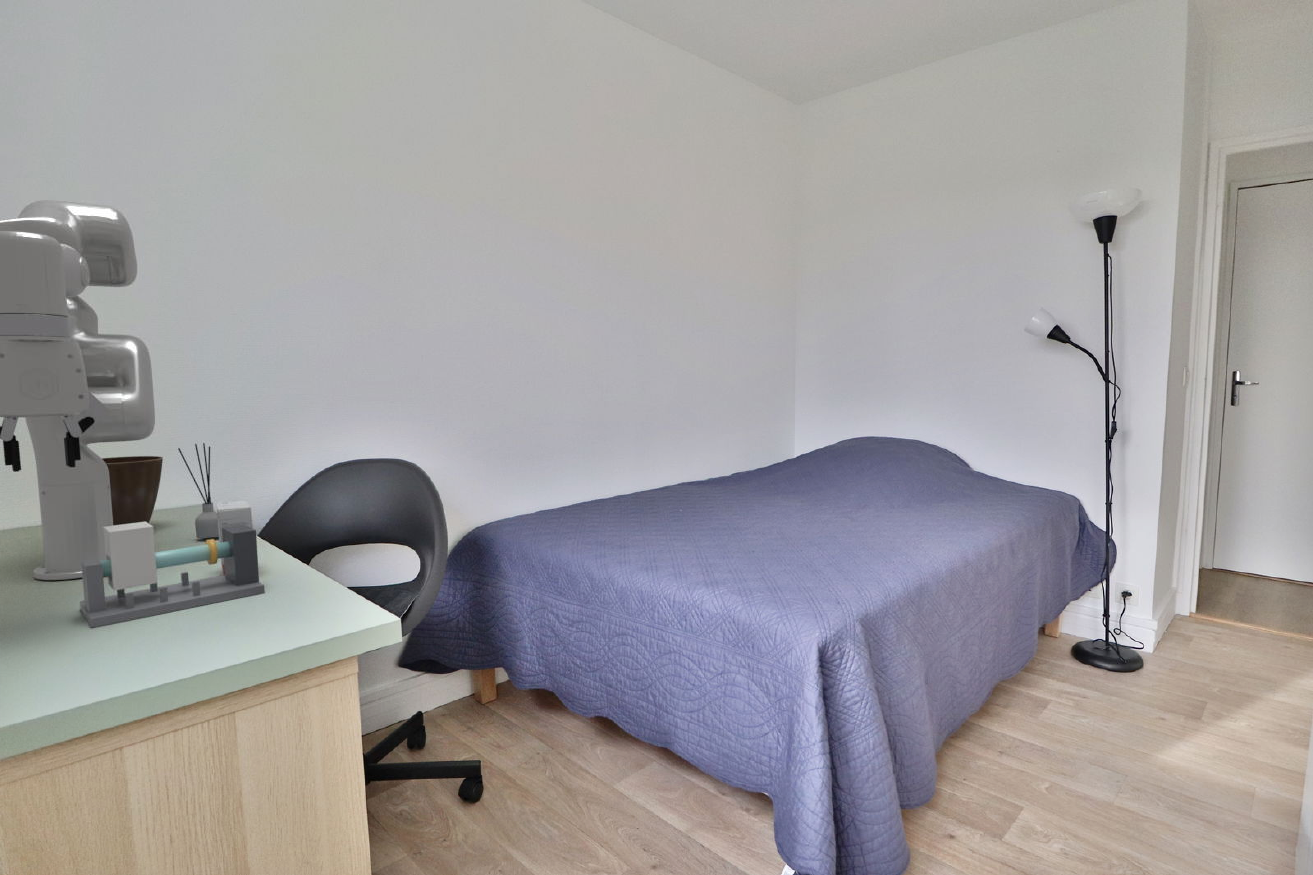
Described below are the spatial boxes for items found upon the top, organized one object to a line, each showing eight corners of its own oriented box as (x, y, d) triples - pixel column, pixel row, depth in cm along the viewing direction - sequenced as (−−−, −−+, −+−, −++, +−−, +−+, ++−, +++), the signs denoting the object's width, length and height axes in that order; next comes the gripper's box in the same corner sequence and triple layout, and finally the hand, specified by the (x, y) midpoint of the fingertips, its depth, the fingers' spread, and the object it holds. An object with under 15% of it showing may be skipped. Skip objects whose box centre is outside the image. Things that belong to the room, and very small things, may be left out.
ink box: (257, 576, 118) (253, 506, 117) (222, 581, 116) (217, 510, 115) (253, 565, 126) (249, 499, 125) (220, 570, 123) (215, 502, 122)
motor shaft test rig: (91, 627, 95) (86, 558, 94) (80, 609, 102) (75, 545, 102) (264, 592, 109) (261, 532, 109) (243, 578, 117) (239, 522, 116)
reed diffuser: (231, 540, 146) (224, 442, 144) (192, 546, 141) (185, 445, 139) (214, 533, 153) (208, 440, 151) (176, 539, 147) (169, 443, 146)
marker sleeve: (113, 590, 98) (109, 532, 98) (107, 583, 102) (103, 526, 101) (157, 582, 102) (153, 526, 101) (149, 575, 106) (145, 521, 105)
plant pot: (125, 524, 163) (120, 455, 161) (184, 526, 161) (179, 455, 159) (63, 539, 148) (56, 463, 147) (126, 541, 146) (120, 463, 144)
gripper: (-60, 326, 84) (-45, 478, 86) (117, 331, 96) (128, 464, 98) (-60, 329, 90) (-46, 472, 91) (108, 333, 102) (118, 460, 103)
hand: (44, 467), depth 95 cm, fingers open, 4 cm apart
